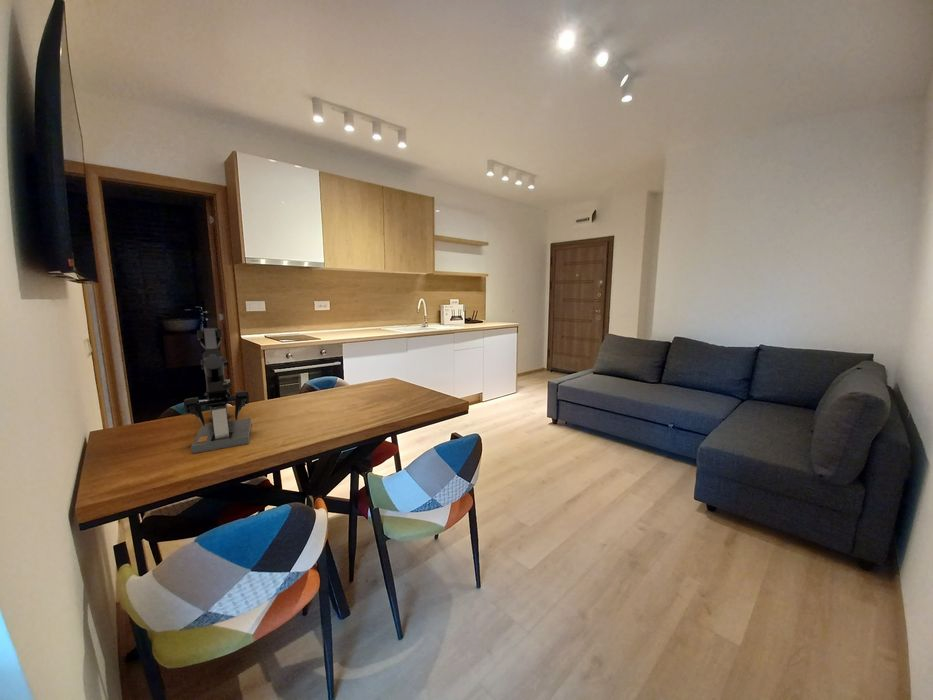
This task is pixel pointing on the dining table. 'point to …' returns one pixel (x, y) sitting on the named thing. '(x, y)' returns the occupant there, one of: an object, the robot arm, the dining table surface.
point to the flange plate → (237, 436)
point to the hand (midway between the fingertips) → (220, 422)
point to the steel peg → (220, 422)
